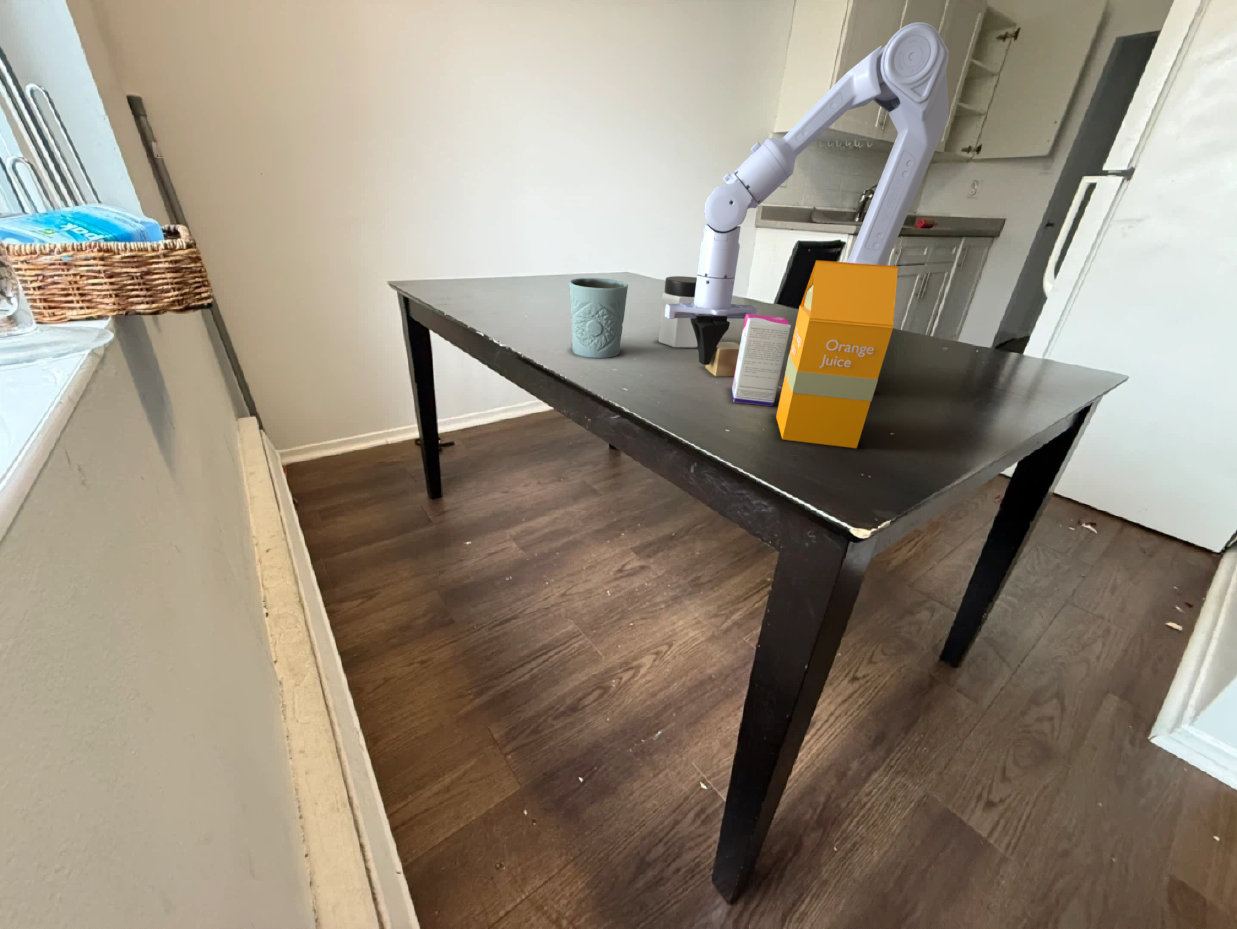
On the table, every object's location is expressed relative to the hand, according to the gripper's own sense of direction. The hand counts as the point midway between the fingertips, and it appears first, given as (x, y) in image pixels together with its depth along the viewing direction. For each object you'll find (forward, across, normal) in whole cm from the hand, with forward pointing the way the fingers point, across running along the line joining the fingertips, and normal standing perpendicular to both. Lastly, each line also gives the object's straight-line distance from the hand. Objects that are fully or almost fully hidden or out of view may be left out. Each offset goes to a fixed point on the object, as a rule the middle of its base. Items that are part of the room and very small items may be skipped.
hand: (704, 363), depth 83 cm
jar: (+2, +2, +19) cm, 19 cm away
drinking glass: (+2, -16, +13) cm, 20 cm away
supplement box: (+2, +3, -12) cm, 13 cm away
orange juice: (+2, +6, -24) cm, 25 cm away
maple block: (+2, +4, 0) cm, 4 cm away
